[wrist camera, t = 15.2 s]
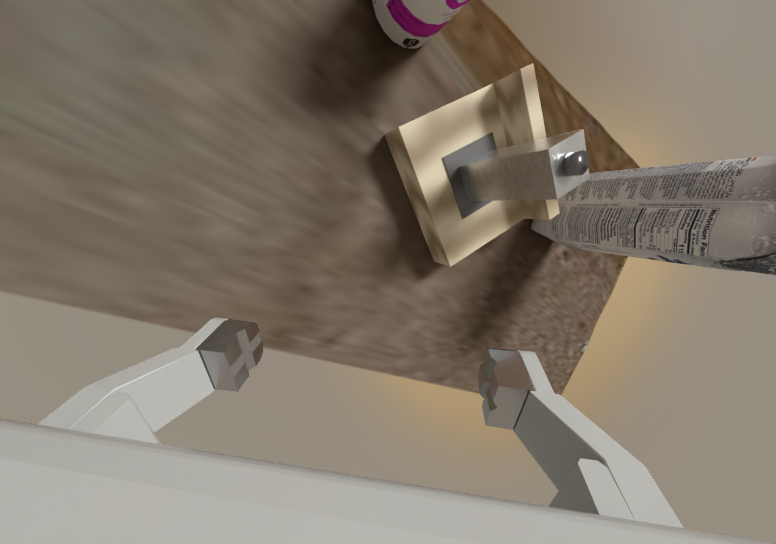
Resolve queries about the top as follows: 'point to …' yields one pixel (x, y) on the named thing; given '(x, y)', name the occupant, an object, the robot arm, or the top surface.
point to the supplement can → (414, 19)
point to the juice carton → (675, 214)
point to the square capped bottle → (528, 169)
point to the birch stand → (456, 147)
